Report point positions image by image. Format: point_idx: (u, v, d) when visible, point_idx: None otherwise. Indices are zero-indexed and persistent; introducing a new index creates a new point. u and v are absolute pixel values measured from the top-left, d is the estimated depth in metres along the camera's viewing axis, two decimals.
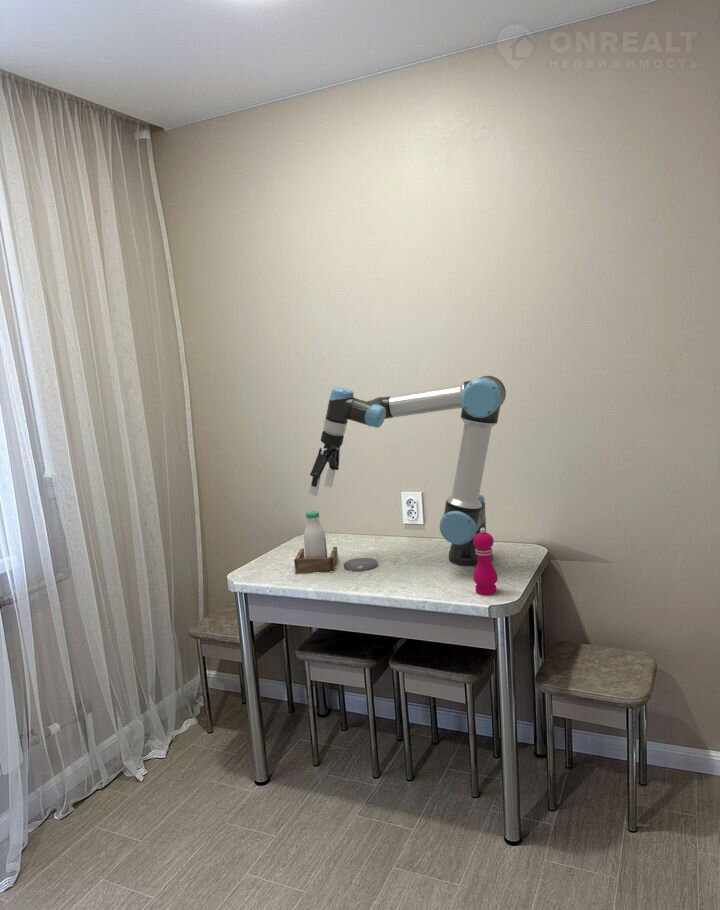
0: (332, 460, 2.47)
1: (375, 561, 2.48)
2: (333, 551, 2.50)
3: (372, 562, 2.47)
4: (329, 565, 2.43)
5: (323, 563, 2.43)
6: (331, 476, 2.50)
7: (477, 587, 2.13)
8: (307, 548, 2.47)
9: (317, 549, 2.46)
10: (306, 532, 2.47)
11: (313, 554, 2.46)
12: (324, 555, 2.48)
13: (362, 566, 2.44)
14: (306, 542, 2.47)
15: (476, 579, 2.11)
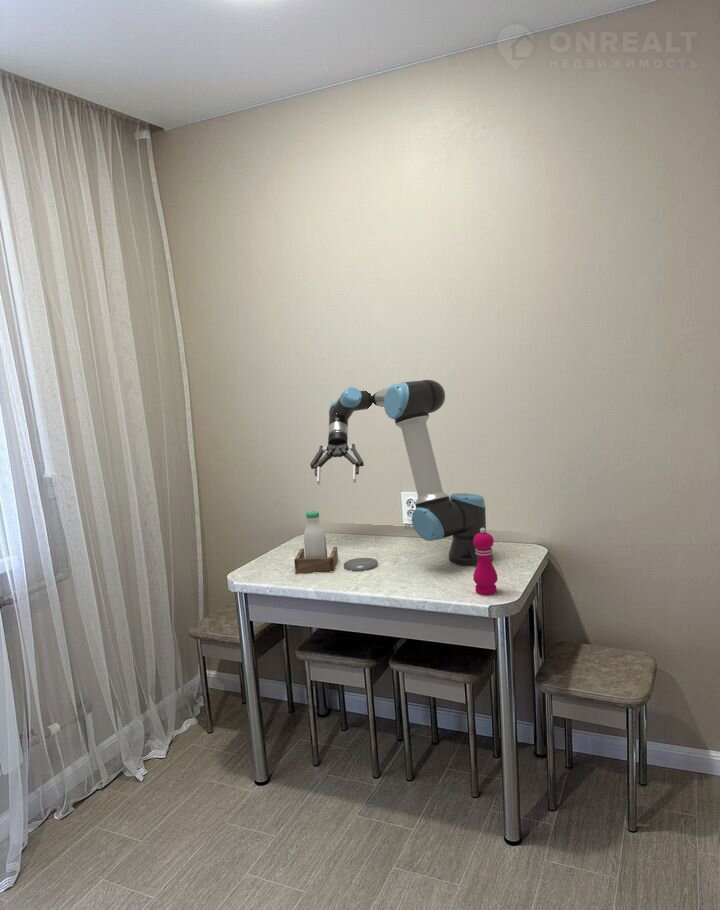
0: (348, 458, 2.68)
1: (375, 561, 2.48)
2: (333, 551, 2.50)
3: (372, 562, 2.47)
4: (329, 565, 2.43)
5: (323, 563, 2.43)
6: (353, 471, 2.64)
7: (477, 587, 2.13)
8: (307, 548, 2.47)
9: (317, 549, 2.46)
10: (306, 532, 2.47)
11: (313, 554, 2.46)
12: (324, 555, 2.48)
13: (362, 566, 2.44)
14: (306, 542, 2.47)
15: (476, 579, 2.11)
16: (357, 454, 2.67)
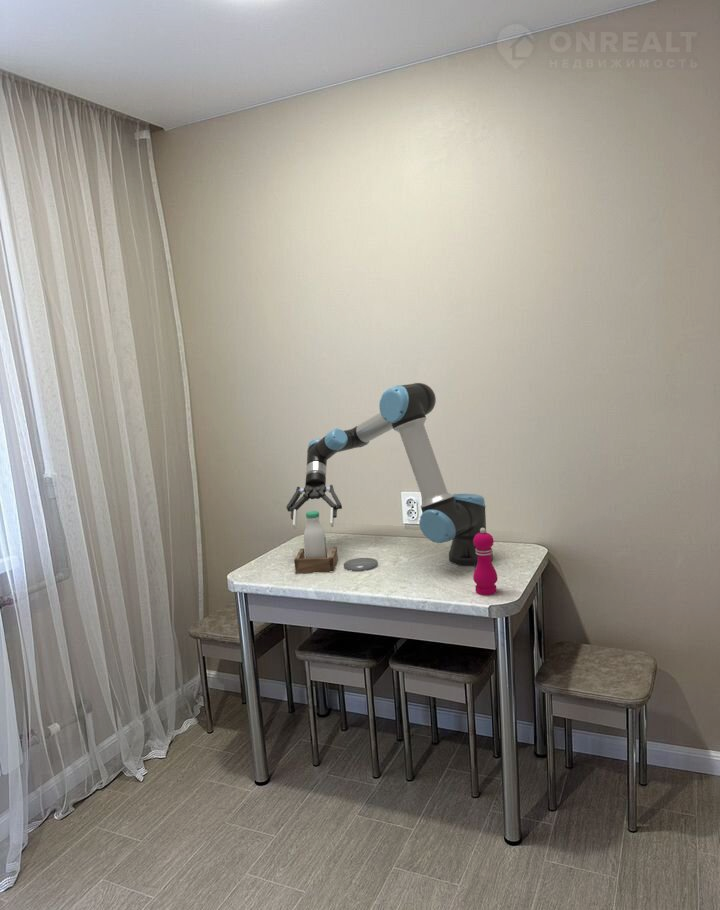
0: (326, 500, 2.58)
1: (375, 561, 2.48)
2: (333, 551, 2.50)
3: (372, 562, 2.47)
4: (329, 565, 2.43)
5: (323, 563, 2.43)
6: None
7: (477, 587, 2.13)
8: (307, 548, 2.47)
9: (317, 549, 2.46)
10: (306, 532, 2.47)
11: (313, 554, 2.46)
12: (324, 555, 2.48)
13: (362, 566, 2.44)
14: (306, 542, 2.47)
15: (476, 579, 2.11)
16: (335, 496, 2.57)
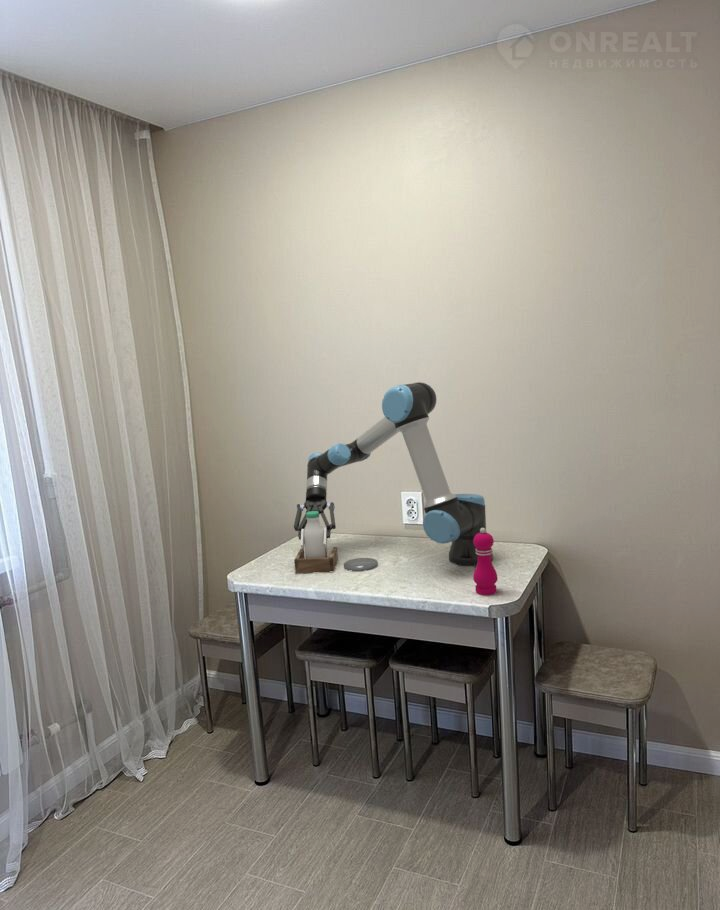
0: None
1: (375, 561, 2.48)
2: (333, 551, 2.50)
3: (372, 562, 2.47)
4: (329, 565, 2.43)
5: (323, 563, 2.43)
6: (324, 534, 2.47)
7: (477, 587, 2.13)
8: (307, 548, 2.47)
9: (317, 549, 2.46)
10: (306, 532, 2.47)
11: (313, 554, 2.46)
12: (324, 555, 2.48)
13: (362, 566, 2.44)
14: (306, 542, 2.47)
15: (476, 579, 2.11)
16: (332, 515, 2.51)
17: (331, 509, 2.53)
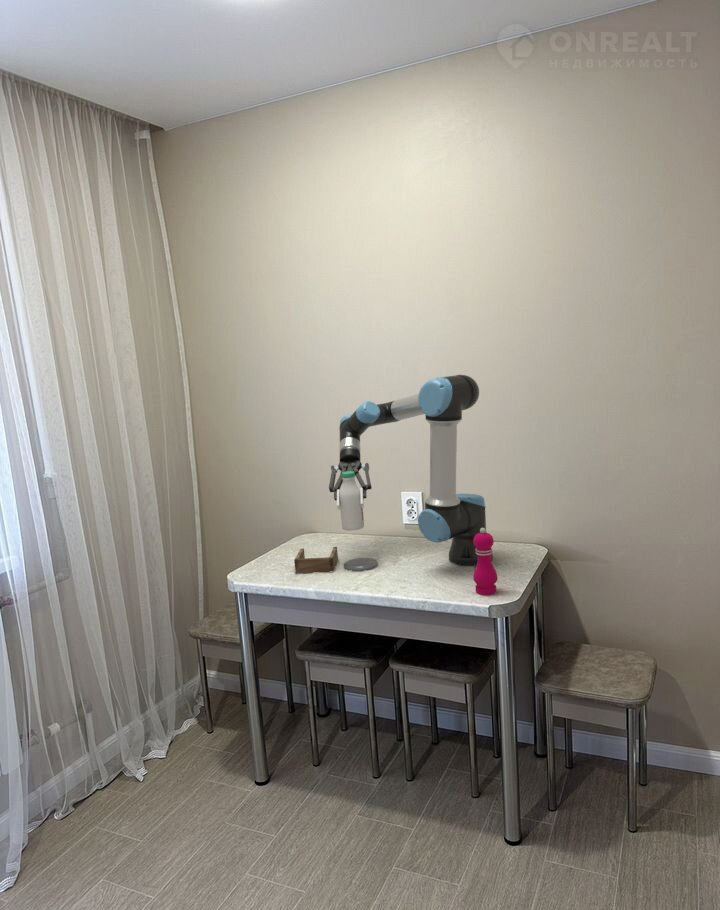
0: (357, 478, 2.48)
1: (375, 561, 2.48)
2: (333, 551, 2.50)
3: (372, 562, 2.47)
4: (329, 565, 2.43)
5: (323, 563, 2.43)
6: None
7: (477, 587, 2.13)
8: (343, 508, 2.42)
9: (354, 509, 2.41)
10: (342, 492, 2.42)
11: (350, 514, 2.41)
12: (360, 515, 2.43)
13: (362, 566, 2.44)
14: (342, 502, 2.42)
15: (476, 579, 2.11)
16: (367, 475, 2.47)
17: (366, 470, 2.48)
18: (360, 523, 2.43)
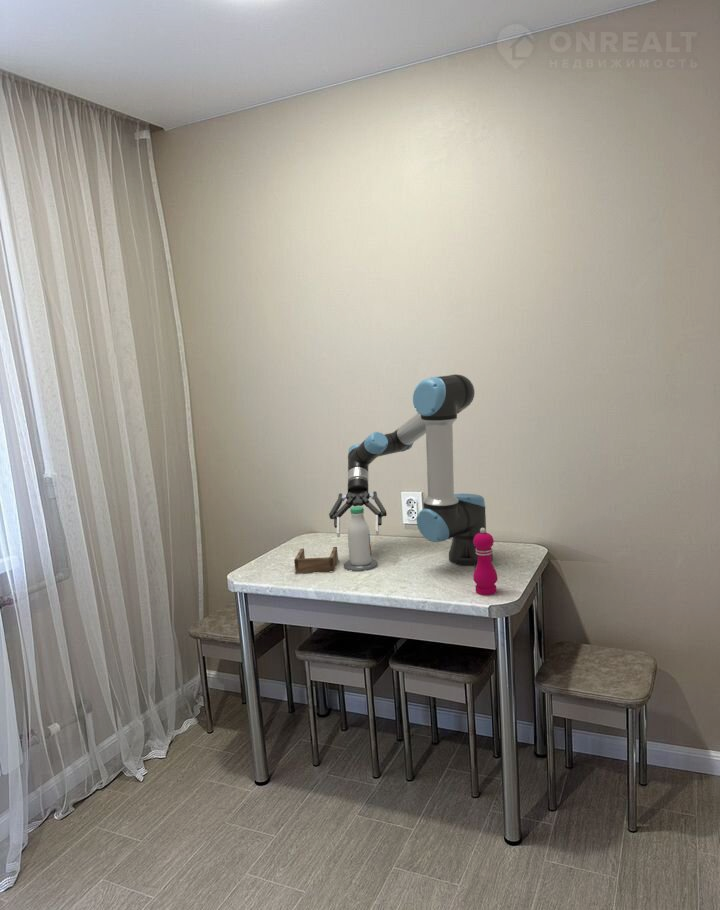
0: (369, 507, 2.49)
1: (375, 561, 2.48)
2: (333, 551, 2.50)
3: (372, 562, 2.47)
4: (329, 565, 2.43)
5: (323, 563, 2.43)
6: None
7: (477, 587, 2.13)
8: (351, 544, 2.44)
9: (362, 545, 2.43)
10: (350, 528, 2.44)
11: (357, 550, 2.43)
12: (368, 551, 2.45)
13: (362, 566, 2.44)
14: (350, 538, 2.44)
15: (476, 579, 2.11)
16: (379, 503, 2.49)
17: (376, 498, 2.50)
18: (368, 559, 2.45)
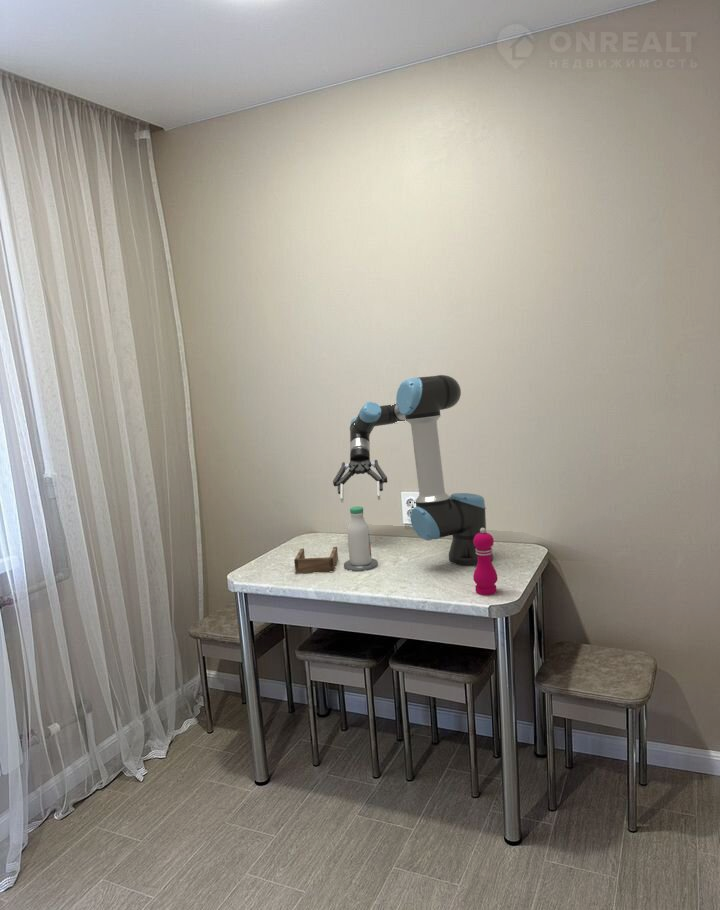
0: (371, 474, 2.63)
1: (375, 561, 2.48)
2: (333, 551, 2.50)
3: (372, 562, 2.47)
4: (329, 565, 2.43)
5: (323, 563, 2.43)
6: (377, 487, 2.59)
7: (477, 587, 2.13)
8: (351, 544, 2.44)
9: (362, 545, 2.43)
10: (350, 528, 2.44)
11: (357, 550, 2.43)
12: (368, 551, 2.45)
13: (362, 566, 2.44)
14: (350, 538, 2.44)
15: (476, 579, 2.11)
16: (380, 470, 2.62)
17: (377, 466, 2.64)
18: (368, 558, 2.45)
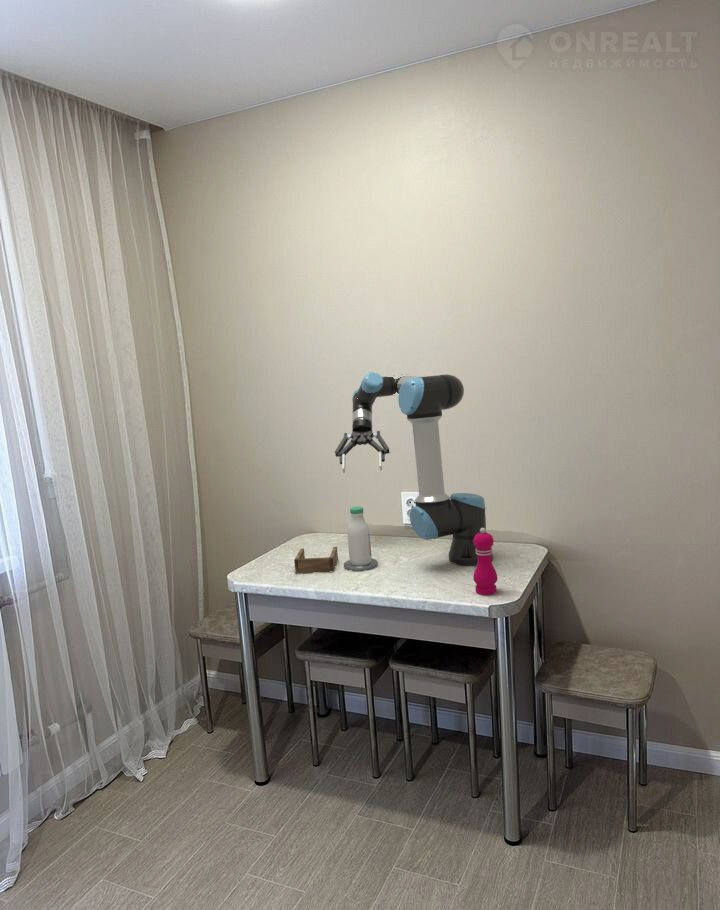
0: (373, 445, 2.63)
1: (375, 561, 2.48)
2: (333, 551, 2.50)
3: (372, 562, 2.47)
4: (329, 565, 2.43)
5: (323, 563, 2.43)
6: (379, 458, 2.59)
7: (477, 587, 2.13)
8: (351, 544, 2.44)
9: (362, 545, 2.43)
10: (350, 528, 2.44)
11: (357, 550, 2.43)
12: (368, 551, 2.45)
13: (362, 566, 2.44)
14: (350, 538, 2.44)
15: (476, 579, 2.11)
16: (383, 441, 2.62)
17: (380, 437, 2.64)
18: (368, 559, 2.45)
